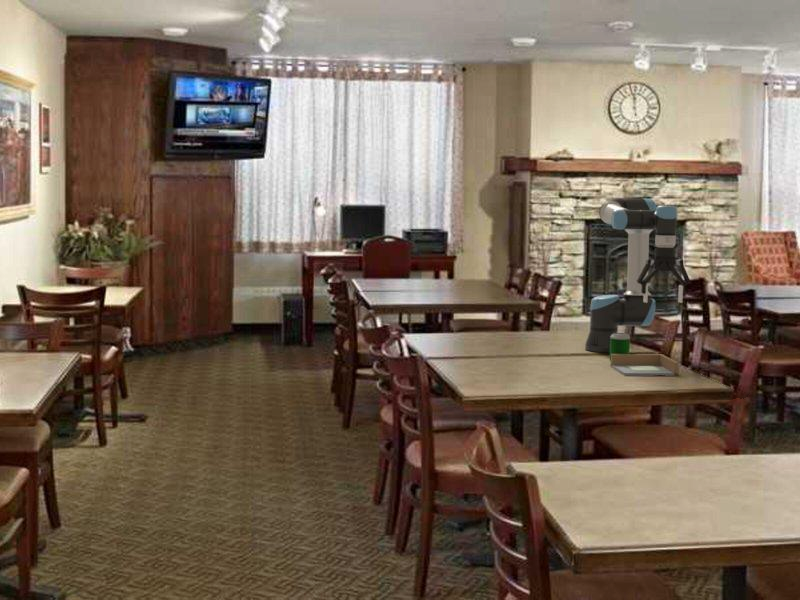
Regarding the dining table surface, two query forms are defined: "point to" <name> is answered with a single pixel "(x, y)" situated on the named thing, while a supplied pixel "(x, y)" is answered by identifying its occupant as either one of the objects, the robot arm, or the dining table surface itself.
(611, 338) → the soda can
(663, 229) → the robot arm
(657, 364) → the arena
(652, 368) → the pad
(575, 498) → the dining table surface
